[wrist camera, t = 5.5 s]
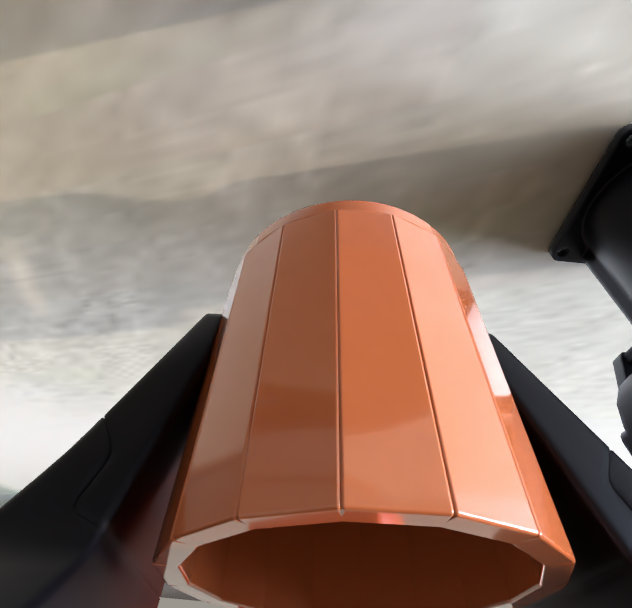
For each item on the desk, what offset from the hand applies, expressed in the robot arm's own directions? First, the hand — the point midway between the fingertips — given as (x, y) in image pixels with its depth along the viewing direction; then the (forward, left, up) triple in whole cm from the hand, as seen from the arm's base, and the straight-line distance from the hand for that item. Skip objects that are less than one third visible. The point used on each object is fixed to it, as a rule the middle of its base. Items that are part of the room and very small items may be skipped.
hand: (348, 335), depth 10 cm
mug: (0, 0, -1) cm, 1 cm away
